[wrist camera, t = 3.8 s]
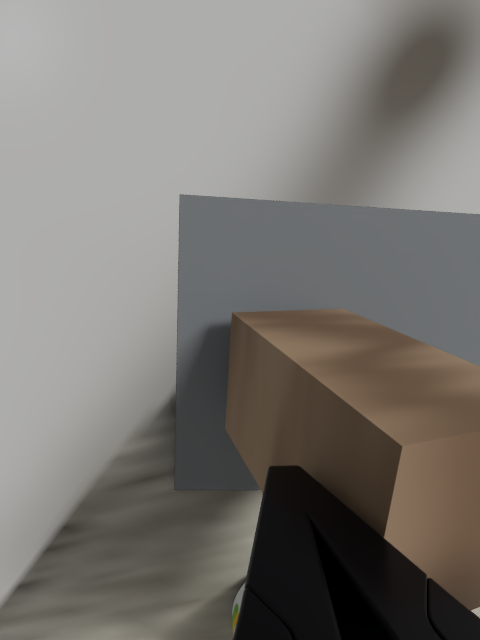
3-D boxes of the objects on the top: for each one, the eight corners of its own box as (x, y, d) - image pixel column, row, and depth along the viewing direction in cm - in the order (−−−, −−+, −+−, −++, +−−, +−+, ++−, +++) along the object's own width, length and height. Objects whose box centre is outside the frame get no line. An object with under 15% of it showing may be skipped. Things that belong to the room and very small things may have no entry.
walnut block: (342, 308, 15) (583, 410, 8) (328, 413, 16) (523, 588, 9) (232, 312, 13) (402, 446, 6) (225, 428, 14) (359, 656, 7)
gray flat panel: (550, 219, 15) (559, 219, 14) (478, 484, 18) (483, 490, 18) (180, 194, 14) (179, 194, 13) (175, 483, 17) (174, 489, 16)
